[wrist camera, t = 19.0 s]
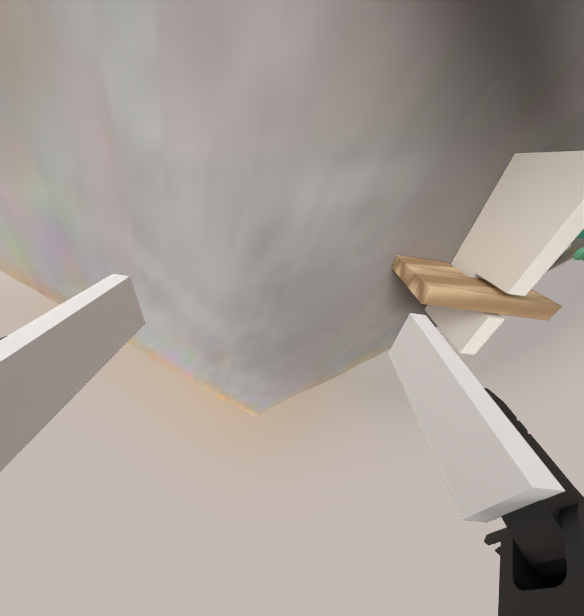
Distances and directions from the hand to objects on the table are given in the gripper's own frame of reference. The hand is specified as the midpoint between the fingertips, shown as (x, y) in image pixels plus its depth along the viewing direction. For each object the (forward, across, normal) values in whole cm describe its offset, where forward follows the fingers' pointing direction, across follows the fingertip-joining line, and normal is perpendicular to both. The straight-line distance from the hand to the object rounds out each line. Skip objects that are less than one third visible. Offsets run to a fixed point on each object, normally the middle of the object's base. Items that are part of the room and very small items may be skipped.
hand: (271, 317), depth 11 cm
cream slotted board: (+29, +30, -2) cm, 42 cm away
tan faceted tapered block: (+29, +28, -6) cm, 40 cm away
